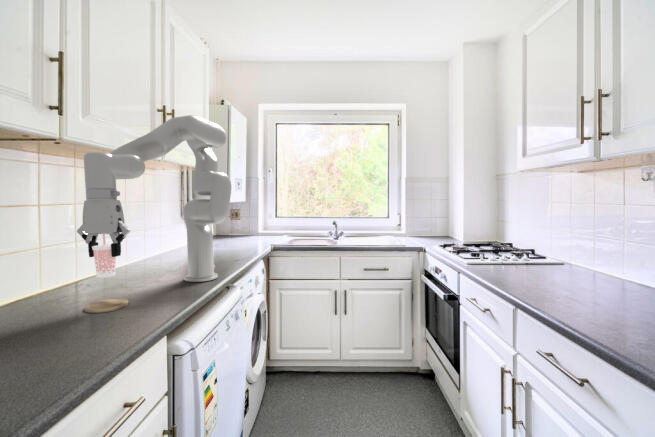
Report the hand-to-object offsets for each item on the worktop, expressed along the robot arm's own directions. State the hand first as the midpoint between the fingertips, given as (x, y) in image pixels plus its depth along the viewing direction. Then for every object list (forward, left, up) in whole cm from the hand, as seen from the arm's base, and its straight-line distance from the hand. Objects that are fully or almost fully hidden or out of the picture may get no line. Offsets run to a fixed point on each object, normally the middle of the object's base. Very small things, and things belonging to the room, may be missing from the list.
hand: (105, 255), depth 101 cm
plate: (0, 0, -15) cm, 15 cm away
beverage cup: (0, 0, -6) cm, 6 cm away
